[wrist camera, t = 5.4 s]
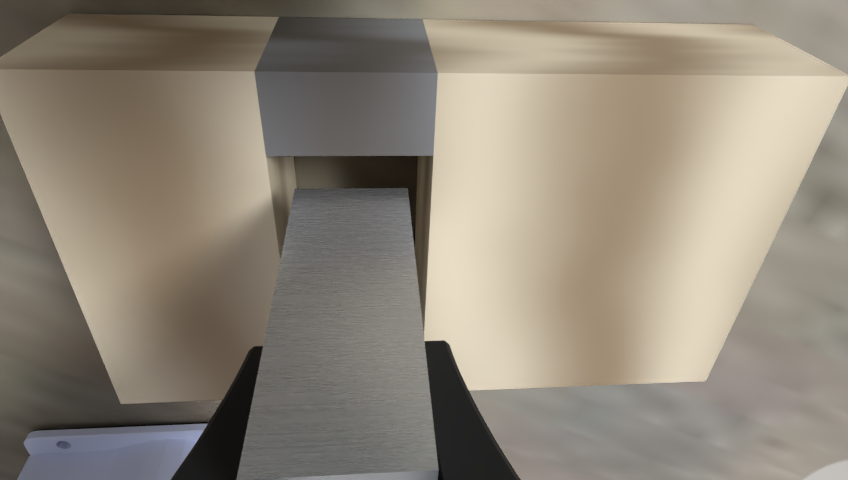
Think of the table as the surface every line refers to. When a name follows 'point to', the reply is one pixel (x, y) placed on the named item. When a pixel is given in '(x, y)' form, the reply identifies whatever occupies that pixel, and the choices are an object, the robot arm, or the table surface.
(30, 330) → the table surface
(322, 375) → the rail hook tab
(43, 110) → the light wood flat block
